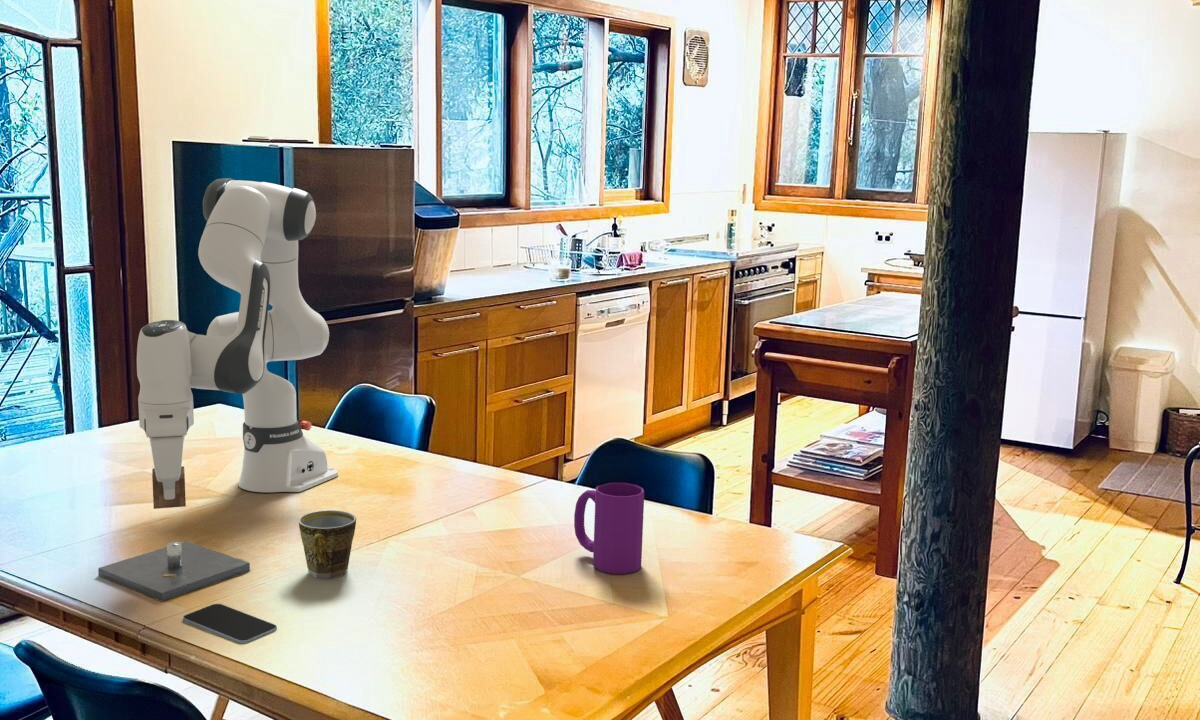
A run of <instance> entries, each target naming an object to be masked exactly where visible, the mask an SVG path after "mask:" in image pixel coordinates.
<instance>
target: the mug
mask: <svg viewBox="0 0 1200 720" xmlns="http://www.w3.org/2000/svg"><path fill="white" fill-rule="evenodd" d="M589 499H591V500H592V502H593V503H594V523H593V524H594V529H593V530H594V531H593V540H592V539H590V537H589V536H588V534H586V529H585V527H586V526H585V513H586V507H587V504H588V503H587V502H588V500H589ZM644 507H645V490H644V488H643V487H641V486H639V485H637V484H634V483H628V482H608V483H605V484H601V485H597V486H596V487H595V490H594V489H591V490H590V489H587V490H585V491H584V492H583V493H581V495H579V497H578V499H577V501H576V502H575V507H574V508H575V509H574V515H573V516H574V517H573V518H574V519H573V521H574V524H573V525H574V526H573V527H574V533H575V537H576V539H577V541H578V543H579V545H580V546H581V547H582V548H584V550H586V551H588V552H590V553H593V555H592V556H593V557H592V563H593V568H594V569H597V570H598V571H600V572H602V573H606V574H610V575H627V574H634V573H635V572H636V571H638V570H639V569H641V568H642V559H643V558H642V557H643V556H642V555H643V554H642V553H643V535H644V534H643V530H644V509H645V508H644Z"/></svg>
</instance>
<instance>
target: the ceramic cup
mask: <svg viewBox="0 0 1200 720" xmlns="http://www.w3.org/2000/svg"><path fill="white" fill-rule="evenodd" d="M356 525H357V517H356V515H355V514H353V513H350V512H348V511H344V510H333V509H332V510H330V509H329V510H327V509H326V510H318V511H313V512H309V513H306V514H304V515H302V516H301V517H300V518H299V519H298V527H299V532H300V538H301V542H302V545H303V551H304V556H305V561H306V565H307V566H306V567H307V571H308V573H309V575H310V576H311V577H314V578H316V579H322V580H332V579H335V578H339V577H343V576H344V575H345V574H346V572H347V570H348V568H349V564H350V558H351V557H350V556H351V552H352V548H353V547H352V546H353V545H352V544H353V540H354V536H355V532H356V528H357V527H356Z"/></svg>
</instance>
